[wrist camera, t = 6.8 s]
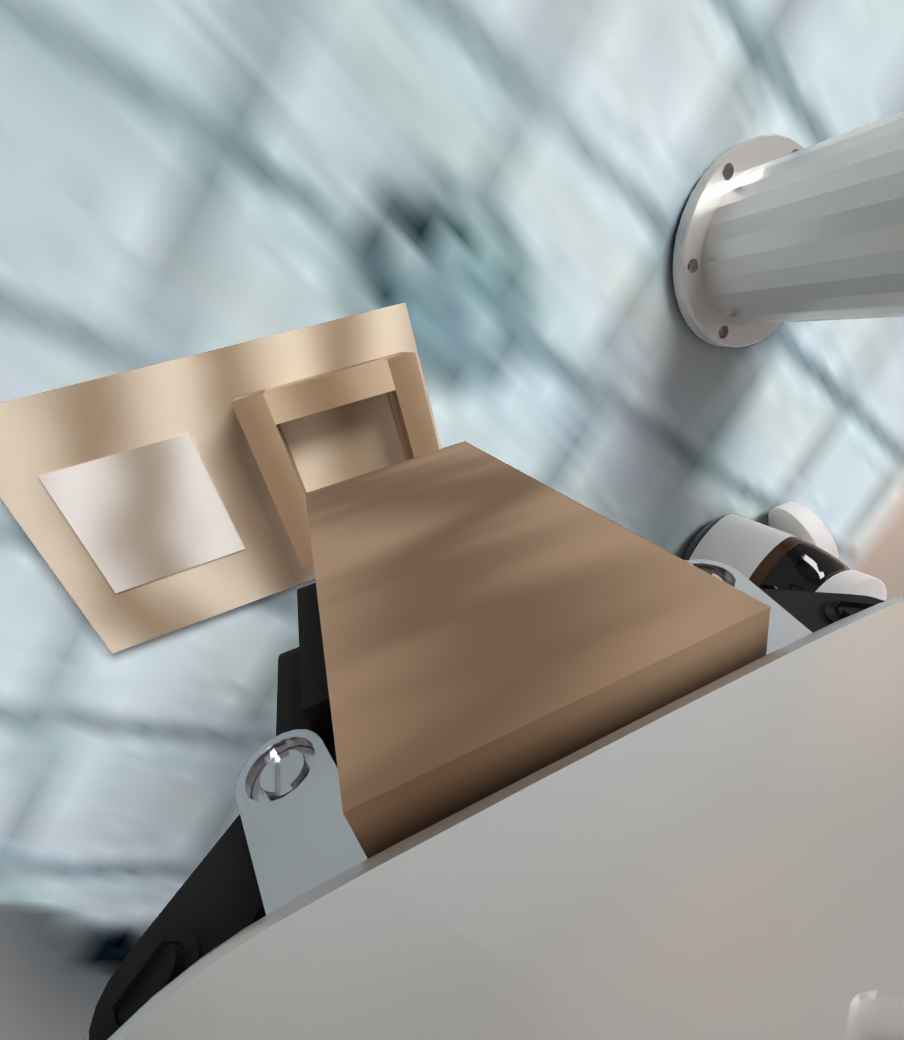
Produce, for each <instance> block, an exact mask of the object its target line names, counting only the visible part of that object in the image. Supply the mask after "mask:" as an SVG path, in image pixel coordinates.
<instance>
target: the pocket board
mask: <svg viewBox="0 0 904 1040" xmlns="http://www.w3.org/2000/svg"><path fill="white" fill-rule="evenodd" d="M440 449H441V445H440V441H439V437H438V433H437V429H436V425H435V421H434V417H433V413H432V408H431V404H430V400H429V396H428V392H427V388H426V384H425V380H424V376H423V372H422V368H421V364H420V360H419V356H418V352H417V348H416V344H415V340H414V336H413V332H412V328H411V324H410V320H409V315H408V311H407V307H406V303H402V304H398V305H394V306H389V307H385V308H381V309H377V310H373V311H369V312H365V313H361V314H357V315H353V316H349V317H345V318H341V319H337V320H333V321H329V322H325V323H321V324H317V325H313V326H309V327H305V328H301V329H297V330H293V331H289V332H285V333H281V334H277V335H273V336H269V337H265V338H260V339H256V340H252V341H248V342H244V343H240V344H236V345H232V346H228V347H224V348H220V349H216V350H212V351H208V352H204V353H200V354H196V355H192V356H188V357H184V358H180V359H176V360H172V361H168V362H164V363H160V364H156V365H152V366H148V367H144V368H140V369H136V370H131V371H127V372H123V373H119V374H115V375H111V376H107V377H103V378H99V379H95V380H91V381H87V382H83V383H79V384H75V385H71V386H67V387H63V388H59V389H55V390H51V391H47V392H43V393H39V394H35V395H31V396H27V397H23V398H19V399H15V400H11V401H7V402H2V403H0V498H1V499H2V501H3V502H4V504H5V505H6V506H7V508H8V509H9V511H10V512H11V513H12V515H13V516H14V518H15V519H16V520H17V522H18V523H19V525H20V526H21V527H22V529H23V530H24V532H25V533H26V534H27V536H28V537H29V539H30V540H31V541H32V543H33V544H34V545H35V547H36V548H37V550H38V551H39V552H40V554H41V555H42V557H43V558H44V559H45V561H46V562H47V564H48V565H49V566H50V568H51V569H52V571H53V572H54V573H55V575H56V576H57V578H58V579H59V580H60V582H61V583H62V585H63V586H64V587H65V589H66V590H67V591H68V593H69V594H70V596H71V597H72V598H73V600H74V601H75V603H76V604H77V605H78V607H79V608H80V610H81V611H82V612H83V614H84V615H85V617H86V618H87V619H88V621H89V622H90V624H91V625H92V626H93V628H94V629H95V631H96V632H97V633H98V635H99V636H100V637H101V639H102V640H103V642H104V643H105V644H106V646H107V647H108V649H109V650H110V651H111V653H112V654H113V653H115V652H118V651H121V650H124V649H126V648H129V647H132V646H134V645H137V644H140V643H143V642H145V641H148V640H151V639H153V638H156V637H159V636H161V635H164V634H167V633H170V632H172V631H175V630H178V629H180V628H183V627H186V626H188V625H191V624H194V623H197V622H199V621H202V620H205V619H207V618H210V617H213V616H216V615H218V614H221V613H224V612H226V611H229V610H232V609H234V608H237V607H240V606H243V605H245V604H248V603H251V602H253V601H256V600H259V599H261V598H264V597H267V596H270V595H272V594H275V593H278V592H280V591H283V590H286V589H288V588H291V587H294V586H297V585H299V584H302V583H305V582H307V581H310V580H313V579H315V572H314V563H313V555H312V546H311V538H310V529H309V521H308V512H307V504H306V495H305V493H307V492H310V491H313V490H317V489H320V488H323V487H326V486H329V485H332V484H335V483H338V482H341V481H344V480H347V479H350V478H353V477H357V476H360V475H363V474H366V473H369V472H372V471H375V470H378V469H381V468H384V467H387V466H390V465H393V464H397V463H400V462H403V461H406V460H409V459H412V458H415V457H418V456H421V455H424V454H427V453H430V452H433V451H437V450H440Z"/></svg>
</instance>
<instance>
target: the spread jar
mask: <svg viewBox="0 0 904 1040" xmlns="http://www.w3.org/2000/svg"><path fill="white" fill-rule="evenodd" d="M768 524H769V526H767V525H764V524H762V523H759V522H756V521H754V520H751V519H748V518H745V517H742V516H738V515H733V514H726V515H722V516H720V517H718V518H716V519H715V520H713V521H712V522H710V523H709V524H708V525H707V526H705V527H704V528H703V529H702V530H701V531H700V532H699V533H698V534H697V535H696V536H695V537H694V538H693V540H692V541H691V543H690V545H689V546H688V548H687V551H686V553H685V556H684V559H683V560H685V561H686V560H693V559H704V560H712V561H718V562H721V563H724V564H727V565H730V566H731V567H733V568H735V569H736V570H738V571H739V572H740V573H742V574H743V575H744V576H745V577H746V578H748V579H749V580H750V581H751V582H752V583H754V584H755V585H756V586H757V587H758V588H763V589H778V590H794V591H809V592H824V593H839V594H854V595H864V596H870V597H874V598H877V599H880V600H884V601H886V598H887V592H886V587H885V585H884V584H883V582H882V581H880V580H879V579H877V578H874V577H872V576H869V575H867V574H864V573H861V572H859V571H856V570H850V569H849V568H848V567H847V566H846V565H845V564H844V563H843V562H841V561H840V560H839V555H838V551H837V548H836V545H835V543H834V540H833V539H832V537H831V535H830V533H829V532H828V530H827V529H826V527H825V526H824V524H823V523H822V522H821V521H820V519H819V518H818V517H817V516H816V515H815V514H814V513H813V512H811V511H810V510H809V509H808V508H806V507H805V506H803V505H801V504H799V503H797V502H787V503H784V504H782V505H779V506H777V507H775V508H773V509H771V510H770V512H769V514H768Z"/></svg>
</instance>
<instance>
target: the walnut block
mask: <svg viewBox="0 0 904 1040" xmlns="http://www.w3.org/2000/svg"><path fill="white" fill-rule="evenodd" d="M305 495H306V504H307V512H308V521H309V529H310V538H311V546H312V555H313V563H314V572H315V580H316V589H317V597H318V606H319V614H320V623H321V631H322V640H323V648H324V657H325V665H326V674H327V682H328V691H329V699H330V708H331V716H332V725H333V733H334V742H335V750H336V759H337V767H338V776H339V784H340V793H341V801H342V809H343V814H344V816H345V818H346V820H347V821H348V823H349V825H350V827H351V829H352V831H353V833H354V834H355V836H356V838H357V840H358V842H359V844H360V846H361V847H362V849H363V851H364V853H365V855H366V857H367V859H369V858H371V857H373V856H374V855H376V854H378V853H380V852H382V851H384V850H386V849H387V848H389V847H391V846H393V845H395V844H397V843H399V842H401V841H403V840H405V839H407V838H408V837H410V836H412V835H414V834H416V833H418V832H420V831H422V830H424V829H426V828H428V827H430V826H432V825H434V824H436V823H437V822H439V821H441V820H443V819H445V818H447V817H449V816H451V815H453V814H455V813H457V812H459V811H461V810H463V809H465V808H467V807H468V806H470V805H472V804H474V803H476V802H478V801H480V800H482V799H484V798H486V797H488V796H490V795H492V794H494V793H496V792H498V791H499V790H501V789H503V788H505V787H507V786H509V785H511V784H513V783H515V782H517V781H519V780H521V779H523V778H525V777H527V776H529V775H530V774H532V773H534V772H536V771H538V770H540V769H542V768H544V767H546V766H548V765H550V764H552V763H554V762H556V761H558V760H560V759H562V758H564V757H566V756H568V755H570V754H572V753H574V752H576V751H577V750H579V749H581V748H583V747H585V746H587V745H589V744H591V743H593V742H595V741H597V740H599V739H601V738H603V737H605V736H607V735H609V734H611V733H613V732H615V731H617V730H619V729H621V728H623V727H625V726H627V725H629V724H631V723H633V722H634V721H636V720H638V719H640V718H642V717H644V716H646V715H648V714H650V713H652V712H654V711H656V710H658V709H660V708H662V707H664V706H666V705H668V704H670V703H672V702H674V701H676V700H678V699H680V698H682V697H684V696H686V695H688V694H690V693H692V692H694V691H696V690H698V689H700V688H702V687H704V686H706V685H708V684H710V683H712V682H714V681H716V680H718V679H720V678H722V677H724V676H726V675H728V674H730V673H732V672H734V671H736V670H738V669H740V668H742V667H744V666H746V665H748V664H750V663H752V662H754V661H756V660H758V659H760V658H762V657H764V656H766V651H767V640H768V629H769V618H770V608H771V607H770V606H768V605H766V604H764V603H762V602H760V601H759V600H757V599H755V598H753V597H751V596H749V595H748V594H746V593H744V592H742V591H740V590H738V589H736V588H735V587H733V586H731V585H729V584H727V583H725V582H724V581H722V580H720V579H718V578H716V577H714V576H712V575H711V574H709V573H707V572H705V571H703V570H701V569H700V568H698V567H696V566H694V565H692V564H690V563H688V562H687V561H685V560H683V559H681V558H679V557H677V556H676V555H674V554H672V553H670V552H668V551H666V550H664V549H663V548H661V547H659V546H657V545H655V544H653V543H652V542H650V541H648V540H646V539H644V538H642V537H641V536H639V535H637V534H635V533H633V532H631V531H629V530H628V529H626V528H624V527H622V526H620V525H618V524H617V523H615V522H613V521H611V520H609V519H607V518H605V517H604V516H602V515H600V514H598V513H596V512H594V511H593V510H591V509H589V508H587V507H585V506H583V505H581V504H580V503H578V502H576V501H574V500H572V499H570V498H569V497H567V496H565V495H563V494H561V493H559V492H557V491H556V490H554V489H552V488H550V487H548V486H546V485H545V484H543V483H541V482H539V481H537V480H535V479H533V478H532V477H530V476H528V475H526V474H524V473H522V472H521V471H519V470H517V469H515V468H513V467H511V466H510V465H508V464H506V463H504V462H502V461H500V460H498V459H497V458H495V457H493V456H491V455H489V454H487V453H486V452H484V451H482V450H480V449H478V448H476V447H474V446H473V445H471V444H469V443H467V442H465V441H464V442H461V443H458V444H455V445H452V446H449V447H446V448H443V449H440V450H437V451H433V452H430V453H427V454H424V455H421V456H418V457H415V458H412V459H409V460H406V461H403V462H400V463H397V464H393V465H390V466H387V467H384V468H381V469H378V470H375V471H372V472H369V473H366V474H363V475H360V476H357V477H353V478H350V479H347V480H344V481H341V482H338V483H335V484H332V485H329V486H326V487H323V488H320V489H317V490H313V491H310V492H307V493H305Z"/></svg>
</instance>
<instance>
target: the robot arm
mask: <svg viewBox="0 0 904 1040" xmlns="http://www.w3.org/2000/svg"><path fill="white" fill-rule="evenodd" d="M673 281H674V289H675V296H676V299H677V302H678V306H679V309H680V312H681V314H682V316H683V318H684V320H685V322H686V324H687V325H688V326H689V327H690V329H691V330H692V331H693V332H694V334H695V335H696V336H698V337H699V338H701V339H702V340H703V341H705V342H706V343H709V344H712V345H715V346H717V347H745V346H748V345H751V344H754V343H757V342H759V341H761V340H762V339H764V338H766V337H768V336H769V335H771V334H772V333H773V332H774V331H775V330H777V329H778V328H779V327H780V326H781V325H782V324H783V323H784V322H802V321H822V320H842V319H863V318H883V317H903V316H904V111H901V112H898V113H896V114H893V115H891V116H888V117H885V118H883V119H880V120H878V121H875V122H872V123H870V124H867V125H864V126H862V127H859V128H857V129H854V130H851V131H849V132H846V133H843V134H841V135H838V136H836V137H833V138H830V139H828V140H825V141H823V142H820V143H817V144H815V145H812V146H809V147H807V148H803V147H802V146H801V145H799V144H798V143H796V142H795V141H793V140H792V139H790V138H787V137H784V136H780V135H777V134H776V135H761V136H758V137H756V138H753V139H750V140H747V141H745V142H743V143H741V144H739V145H737V146H735V147H733V148H731V149H729V150H728V151H726V152H725V153H724V154H723V155H722V156H720V157H719V158H718V159H717V160H715V161H714V162H713V164H712V165H711V166H710V167H709V168H708V170H707V171H706V172H705V173H704V174H703V175H702V177H701V178H700V180H699V182H698V183H697V185H696V187H695V188H694V190H693V191H692V193H691V195H690V197H689V200H688V202H687V204H686V206H685V209H684V211H683V213H682V217H681V220H680V224H679V227H678V231H677V234H676V240H675V247H674V253H673ZM686 561H687V562H688V563H690V564H692V565H694V566H696V567H698V568H700V569H701V570H703V571H705V572H707V573H709V574H711V575H712V576H714V577H716V578H718V579H720V580H722V581H724V582H725V583H727V584H729V585H731V586H733V587H735V588H736V589H738V590H740V591H742V592H744V593H746V594H748V595H749V596H751V597H753V598H755V599H757V600H759V601H760V602H762V603H764V604H766V605H768V606H770V607H771V608H770V618H769V629H768V640H767V651H766V656H764V657H762V658H760V659H758V660H756V661H754V662H752V663H750V664H748V665H746V666H744V667H742V668H740V669H738V670H736V671H734V672H732V673H730V674H728V675H726V676H724V677H722V678H720V679H718V680H716V681H714V682H712V683H710V684H708V685H706V686H704V687H702V688H700V689H698V690H696V691H694V692H692V693H690V694H688V695H686V696H684V697H682V698H680V699H678V700H676V701H674V702H672V703H670V704H668V705H666V706H664V707H662V708H660V709H658V710H656V711H654V712H652V713H650V714H648V715H646V716H644V717H642V718H640V719H638V720H636V721H634V722H633V723H631V724H629V725H627V726H625V727H623V728H621V729H619V730H617V731H615V732H613V733H611V734H609V735H607V736H605V737H603V738H601V739H599V740H597V741H595V742H593V743H591V744H589V745H587V746H585V747H583V748H581V749H579V750H577V751H576V752H574V753H572V754H570V755H568V756H566V757H564V758H562V759H560V760H558V761H556V762H554V763H552V764H550V765H548V766H546V767H544V768H542V769H540V770H538V771H536V772H534V773H532V774H530V775H529V776H527V777H525V778H523V779H521V780H519V781H517V782H515V783H513V784H511V785H509V786H507V787H505V788H503V789H501V790H499V791H498V792H496V793H494V794H492V795H490V796H488V797H486V798H484V799H482V800H480V801H478V802H476V803H474V804H472V805H470V806H468V807H467V808H465V809H463V810H461V811H459V812H457V813H455V814H453V815H451V816H449V817H447V818H445V819H443V820H441V821H439V822H437V823H436V824H434V825H432V826H430V827H428V828H426V829H424V830H422V831H420V832H418V833H416V834H414V835H412V836H410V837H408V838H407V839H405V840H403V841H401V842H399V843H397V844H395V845H393V846H391V847H389V848H387V849H386V850H384V851H382V852H380V853H378V854H376V855H374V856H373V857H371V858H369V859H367V857H366V855H365V853H364V851H363V849H362V847H361V846H360V844H359V842H358V840H357V838H356V836H355V834H354V833H353V831H352V829H351V827H350V825H349V823H348V821H347V820H346V818H345V816H344V814H343V809H342V801H341V793H340V784H339V776H338V767H337V759H336V750H335V742H334V733H333V725H332V716H331V708H330V699H329V691H328V682H327V674H326V665H325V657H324V648H323V640H322V631H321V623H320V614H319V606H318V597H317V589H316V583H314V584H311V585H308V586H306V587H303V588H300V589H297V599H298V624H299V647H298V648H295V649H292V650H290V651H287V652H285V653H282V654H280V655H279V659H278V690H277V725H276V737H274V738H272V739H270V740H269V741H268V742H266V743H265V744H264V745H262V746H261V747H260V748H259V749H257V751H256V752H255V753H254V754H253V755H252V756H251V757H250V758H249V759H248V760H247V762H246V764H245V765H244V767H243V769H242V770H241V772H240V774H239V777H238V780H237V783H236V786H235V787H236V801H237V805H238V808H239V812H240V814H239V816H238V817H237V818H236V819H235V821H234V822H233V823H232V824H231V826H230V827H229V828H228V829H227V831H226V832H225V833H224V834H223V836H222V837H221V838H220V839H219V841H218V842H217V843H216V844H215V846H214V847H213V848H212V849H211V851H210V852H209V853H208V854H207V856H206V857H205V858H204V859H203V861H202V862H201V863H200V864H199V866H198V867H197V868H196V869H195V871H194V872H193V873H192V874H191V876H190V877H189V878H188V879H187V881H186V882H185V883H184V884H183V886H182V887H181V888H180V889H179V891H178V892H177V893H176V894H175V896H174V897H173V898H172V899H171V901H170V902H169V903H168V904H167V906H166V907H165V908H164V909H163V911H162V912H161V913H160V914H159V916H158V917H157V918H156V919H155V921H154V922H153V923H152V924H151V926H150V927H149V928H148V929H147V931H146V932H145V933H144V934H143V936H142V937H141V938H140V939H139V941H138V942H137V943H136V944H135V946H134V947H133V948H132V949H131V950H130V952H129V953H128V954H127V955H126V957H125V958H124V959H123V961H122V962H121V964H120V965H119V967H118V968H117V969H116V971H115V972H114V974H113V975H112V977H111V978H110V980H109V981H108V983H107V985H106V987H105V989H104V991H103V993H102V995H101V997H100V999H99V1001H98V1003H97V1005H96V1009H95V1012H94V1015H93V1019H92V1022H91V1026H90V1029H89V1034H88V1035H87V1036H86V1037H85V1039H84V1040H904V596H900V597H897V598H894V599H891V600H888V601H884V600H880V599H877V598H874V597H870V596H864V595H854V594H839V593H824V592H809V591H794V590H778V589H763V588H758V587H757V586H756V585H755V584H754V583H752V582H751V581H750V580H749V579H748V578H746V577H745V576H744V575H743V574H742V573H740V572H739V571H738V570H736V569H735V568H733V567H731V566H730V565H727V564H724V563H721V562H718V561H712V560H704V559H693V560H686Z"/></svg>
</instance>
